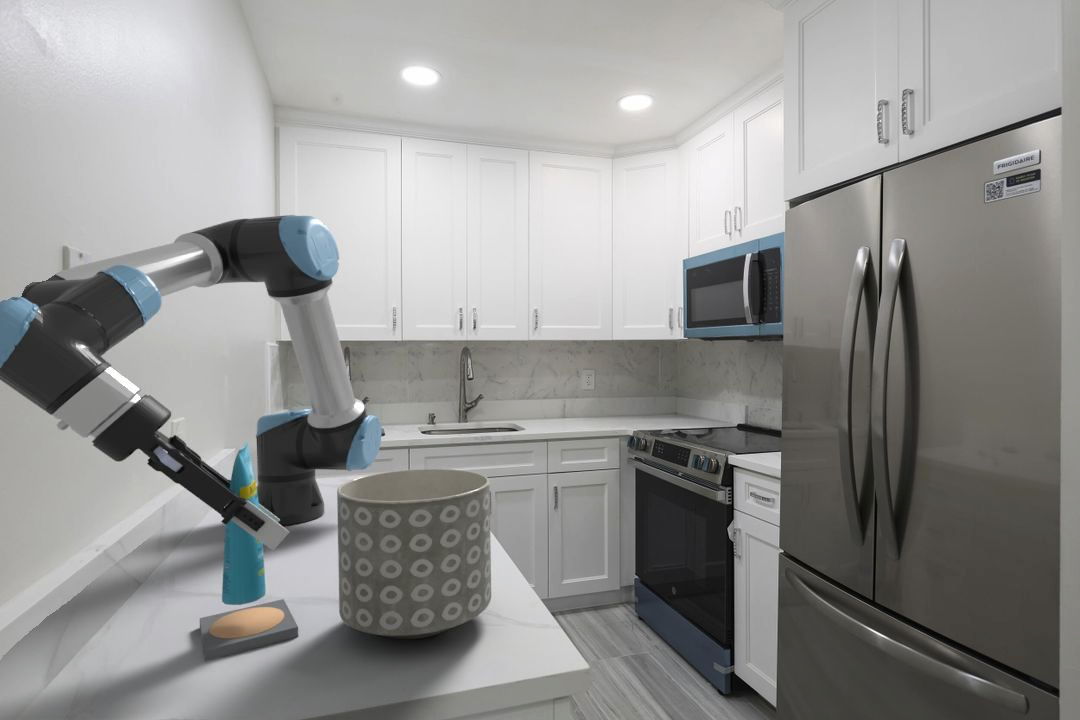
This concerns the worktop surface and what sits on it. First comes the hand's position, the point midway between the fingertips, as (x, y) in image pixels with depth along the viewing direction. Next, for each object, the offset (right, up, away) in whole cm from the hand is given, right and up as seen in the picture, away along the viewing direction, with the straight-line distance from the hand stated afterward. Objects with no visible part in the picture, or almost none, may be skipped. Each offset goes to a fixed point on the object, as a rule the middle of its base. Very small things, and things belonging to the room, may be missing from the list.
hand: (276, 533), depth 74 cm
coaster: (-3, -12, -2) cm, 12 cm away
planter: (+18, -12, 0) cm, 22 cm away
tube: (-3, -8, -2) cm, 8 cm away
